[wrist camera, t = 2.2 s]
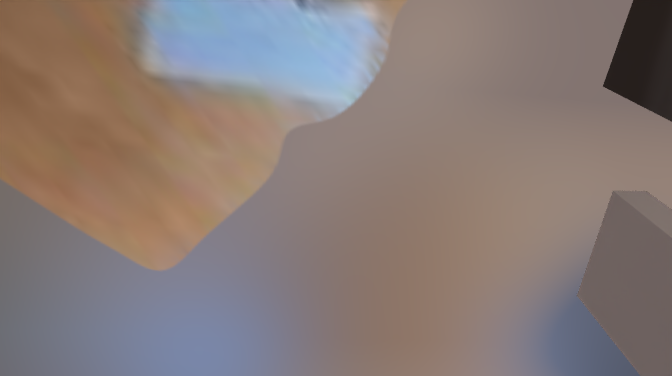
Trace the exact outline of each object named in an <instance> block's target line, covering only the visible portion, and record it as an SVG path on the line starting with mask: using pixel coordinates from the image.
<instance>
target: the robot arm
mask: <svg viewBox="0 0 672 376" xmlns="http://www.w3.org/2000/svg"><path fill="white" fill-rule="evenodd" d="M577 296H578V297H579V299H580V300H581V301H582V302H583V304H584V305H585V306H586V307H587V309H588V310H589V311H590V312H591V314H592V315H593V316H594V318H595V319H596V320H597V321H598V323H599V324H600V325H601V326H602V328H603V329H604V330H605V331H606V333H607V334H608V335H609V337H610V338H611V339H612V340H613V342H614V343H615V344H616V345H617V347H618V348H619V349H620V350H621V352H622V353H623V354H624V355H625V357H626V358H627V359H628V360H629V362H630V363H631V364H632V366H633V367H634V368H635V369H636V371H637V372H638V373H639V375H640V376H672V209H670V208H669V207H667V206H666V205H665V204H663V203H662V202H661V201H659V200H658V199H657V198H655V197H654V196H652V195H651V194H650V193H648V192H647V191H613V192H612V196H611V198H610V201H609V204H608V207H607V210H606V213H605V216H604V219H603V222H602V225H601V227H600V230H599V233H598V236H597V239H596V242H595V245H594V248H593V251H592V254H591V257H590V260H589V262H588V265H587V268H586V271H585V274H584V277H583V280H582V283H581V286H580V289H579V291H578V295H577Z"/></svg>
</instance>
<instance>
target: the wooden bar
mask: <svg viewBox="0 0 672 376" xmlns="http://www.w3.org/2000/svg"><path fill="white" fill-rule="evenodd" d="M603 87H605V88H607V89H609V90H611V91H613V92H615V93H617V94H619V95H621V96H623V97H625V98H627V99H629V100H631V101H633V102H635V103H637V104H638V105H640V106H642V107H644V108H646V109H648V110H650V111H653V112H654V113H656V114H658V115H660V116H662V117H664V118H666V119H668V120H670V121H672V0H633V3H632V6H631V8H630V11H629V14H628V17H627V20H626V23H625V25H624V28H623V31H622V34H621V37H620V39H619V42H618V45H617V48H616V51H615V54H614V56H613V59H612V62H611V65H610V68H609V71H608V73H607V76H606V79H605V82H604V85H603Z"/></svg>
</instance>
